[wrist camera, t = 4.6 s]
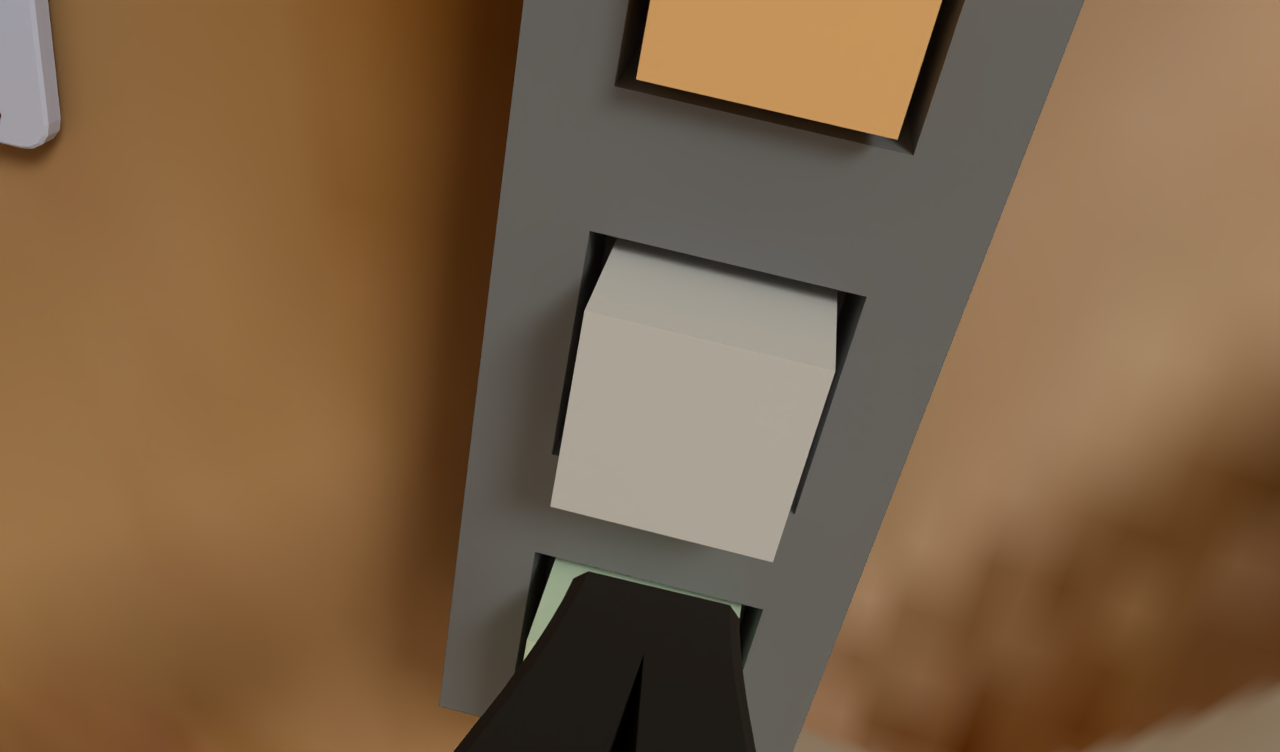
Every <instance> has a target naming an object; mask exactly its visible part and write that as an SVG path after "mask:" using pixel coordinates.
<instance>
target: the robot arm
mask: <svg viewBox="0 0 1280 752" xmlns="http://www.w3.org/2000/svg"><path fill="white" fill-rule="evenodd" d="M0 113H1V118H0V143H2V144H6V145H10V146H15V147H19V148H28V149H34V148H36V147H38V146H40V145H42V144H44V143H46V142H48V141H50V140H52V139H54V138H55V136H56V135H57V133H58V132H59V130H60V122H61V116H60V107H59V98H58V89H57V79H56V70H55V61H54V52H53V42H52V33H51V24H50V15H49V5H48V0H0ZM454 752H756V748H755V743H754V737H753V732H752V726H751V721H750V715H749V710H748V704H747V697H746V690H745V683H744V675H743V667H742V657H741V645H740V618H739V617H738V616H737V614H736V613H735V611H734V610H733V609H732V607H731V606H730V605H728V604H723V603H719V602H715V601H711V600H707V599H703V598H698V597H694V596H690V595H686V594H682V593H677V592H673V591H669V590H665V589H661V588H657V587H652V586H648V585H644V584H640V583H636V582H631V581H627V580H623V579H619V578H615V577H611V576H606V575H602V574H598V573H594V572H590V571H588V572H586V573H583V574H581V575H579V576H577V577H575V578H573V580H572V582H571V584H570V586H569V588H568V590H567V592H566V594H565V596H564V598H563V600H562V602H561V603H560V605H559V607H558V608H557V610H556V612H555V613H554V615H553V617H552V619H551V620H550V622H549V623H548V625H547V627H546V628H545V630H544V631H543V633H542V634H541V636H540V637H539V639H538V640H537V642H536V643H535V645H534V646H533V648H532V649H531V651H530V652H529V654H528V655H527V656H526V658H525V659H524V661H523V662H522V663H521V665H520V666H519V668H518V669H517V670H516V672H515V673H514V675H513V676H512V677H511V679H510V680H509V682H508V683H507V684H506V686H505V687H504V688H503V690H502V691H501V692H500V694H499V695H498V696H497V697H496V699H495V700H494V701H493V702H492V704H491V705H490V706H489V708H488V709H487V710H486V711H485V713H484V714H483V715H482V716H481V718H480V719H479V720H478V721H477V723H476V724H475V725H474V726H473V728H472V729H471V730H470V732H469V733H468V734H467V735H466V737H465V738H464V739H463V740H462V742H461V743H460V744H459V745H458V747H457V748H456V749H455V751H454Z"/></svg>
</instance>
